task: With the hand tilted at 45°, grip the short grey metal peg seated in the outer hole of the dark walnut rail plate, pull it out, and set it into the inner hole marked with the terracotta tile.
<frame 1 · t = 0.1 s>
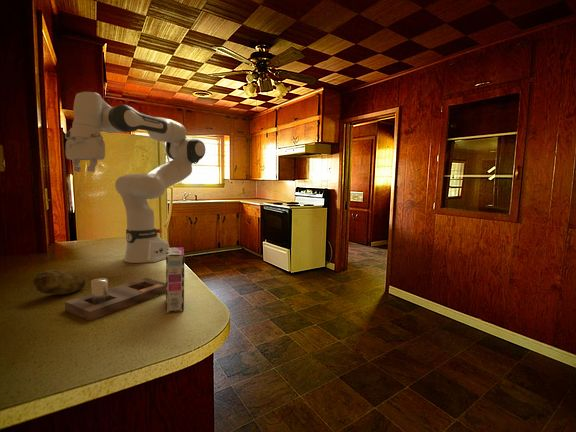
hand: (83, 171, 111), 39 cm above the countertop, tool pointing down, fingers open, 8 cm apart
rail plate: (122, 299, 89), on the countertop
metal peg: (100, 307, 84), resting in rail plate
candy bar box: (175, 305, 87), on the countertop
potato: (61, 294, 92), on the countertop
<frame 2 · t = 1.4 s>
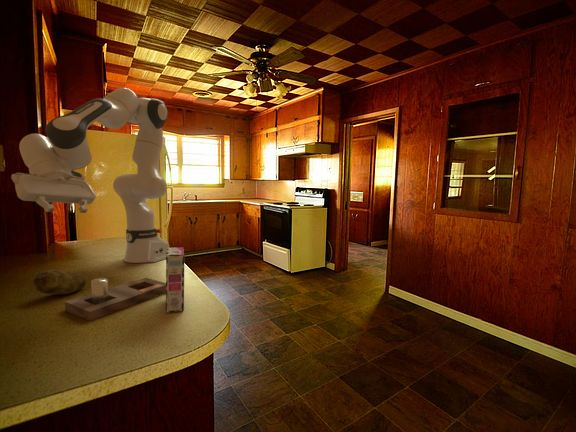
hand: (68, 211, 88), 26 cm above the countertop, tool tilted 45°, fingers open, 8 cm apart
nothing on the countertop moved.
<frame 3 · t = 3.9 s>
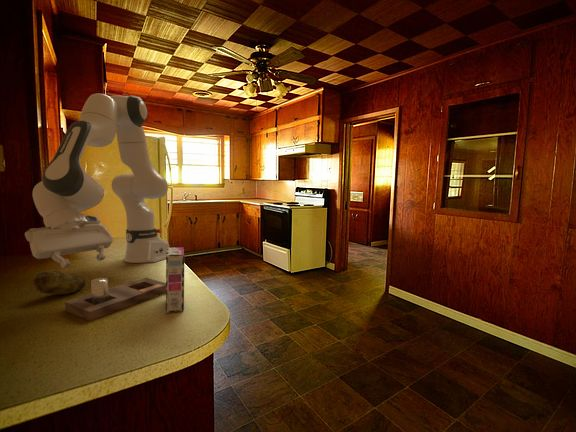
hand: (85, 262, 85), 12 cm above the countertop, tool tilted 45°, fingers open, 8 cm apart
nothing on the countertop moved.
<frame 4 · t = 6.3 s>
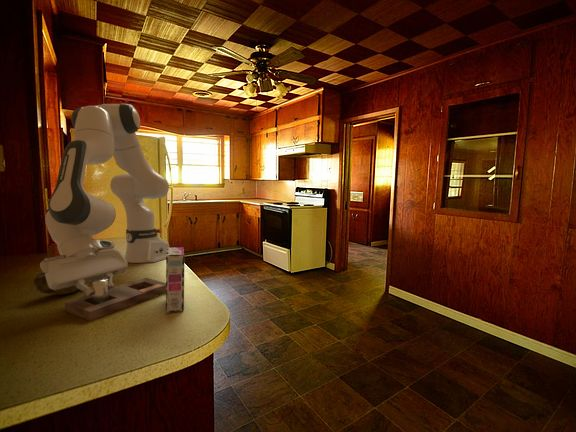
hand: (101, 291, 83), 5 cm above the countertop, tool tilted 45°, fingers closed on metal peg, 4 cm apart
metal peg: (100, 307, 84), resting in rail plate, touching gripper
everything else where it was.
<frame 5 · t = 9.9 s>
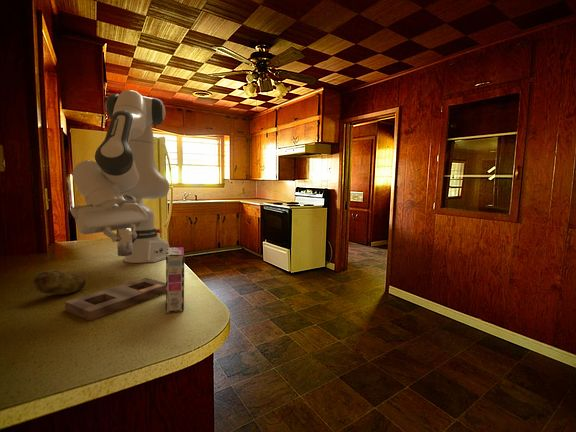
hand: (126, 239, 88), 19 cm above the countertop, tool tilted 45°, fingers closed on metal peg, 4 cm apart
metal peg: (125, 254, 89), point 14 cm above the countertop, touching gripper
everything else where it was.
when the fingers open (8 cm above the countertop, at t = 13.5 s): metal peg drops 3 cm, resting on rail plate.
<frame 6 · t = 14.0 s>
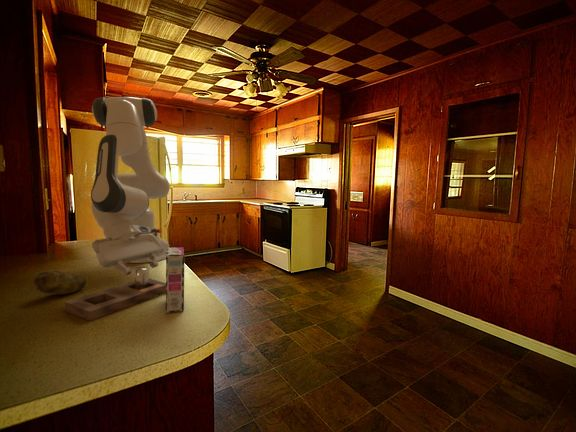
hand: (142, 269, 94), 8 cm above the countertop, tool tilted 45°, fingers open, 8 cm apart
metal peg: (141, 292, 95), resting on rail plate
everything else where it was.
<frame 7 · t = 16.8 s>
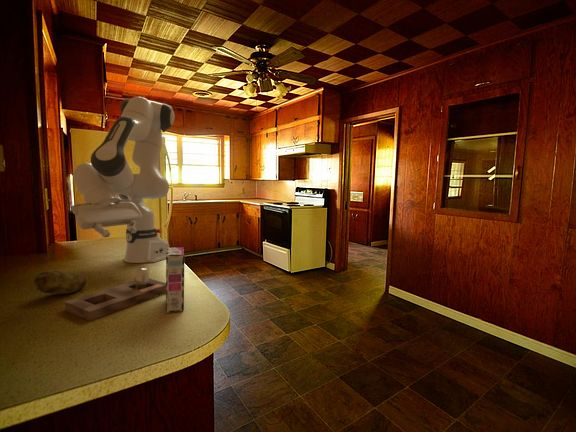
hand: (121, 234, 98), 18 cm above the countertop, tool tilted 45°, fingers open, 8 cm apart
nothing on the countertop moved.
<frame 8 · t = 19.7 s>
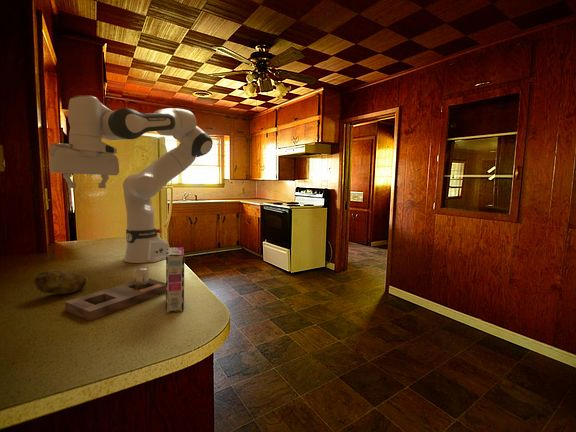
hand: (87, 188, 99), 33 cm above the countertop, tool pointing down, fingers open, 8 cm apart
nothing on the countertop moved.
at the end: metal peg 0.0 cm from the target spot on the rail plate, point 0.2 cm above the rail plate's base; metal peg tilted 1°; the gripper is holding nothing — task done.
